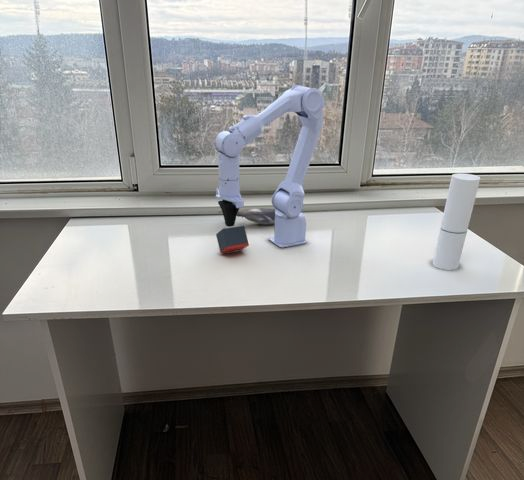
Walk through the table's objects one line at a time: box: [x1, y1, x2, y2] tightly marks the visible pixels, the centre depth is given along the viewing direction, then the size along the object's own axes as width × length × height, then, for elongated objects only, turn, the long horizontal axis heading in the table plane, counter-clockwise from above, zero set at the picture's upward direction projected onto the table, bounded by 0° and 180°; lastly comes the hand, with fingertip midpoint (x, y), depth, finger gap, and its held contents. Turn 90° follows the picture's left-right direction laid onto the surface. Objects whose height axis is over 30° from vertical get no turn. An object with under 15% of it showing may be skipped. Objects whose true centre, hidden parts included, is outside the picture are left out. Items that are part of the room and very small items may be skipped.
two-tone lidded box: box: [215, 225, 250, 255], centre depth 147 cm, size 7×6×6 cm
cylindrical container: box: [432, 172, 481, 271], centre depth 137 cm, size 7×7×25 cm
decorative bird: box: [217, 207, 275, 225], centre depth 170 cm, size 6×25×5 cm, turn 99°
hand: (230, 225), depth 146 cm, fingers closed
